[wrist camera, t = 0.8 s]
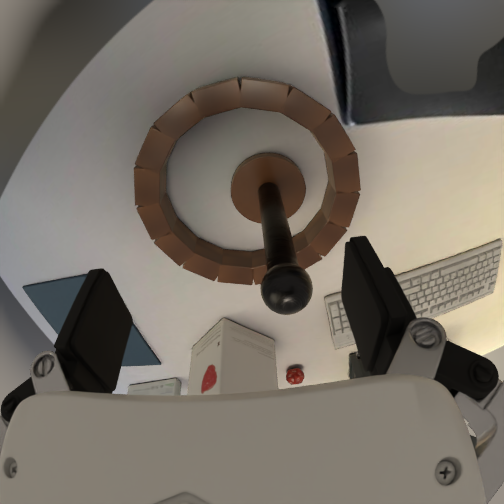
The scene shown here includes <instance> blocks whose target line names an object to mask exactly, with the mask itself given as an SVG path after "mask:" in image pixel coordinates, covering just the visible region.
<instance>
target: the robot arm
mask: <svg viewBox="0 0 504 504" xmlns="http://www.w3.org/2000/svg"><path fill="white" fill-rule="evenodd" d="M341 299H342V303H343V306H344V309H345V312H346V315H347V318H348V321H349V324H350V327H351V330H352V333H353V336H354V339H355V342H356V346H357V349H358V352H359V355H360V358H361V362H362V365H363V368H364V370H365V372H367V371H369V373H370V376H368V377H362V378H355V379H349V380H343V381H337V382H330V383H324V384H317V385H309V386H302V387H295V388H287V389H278V390H269V391H259V392H247V393H233V394H215V395H181V396H161V395H125V394H112V391H114V390H115V389H116V385H117V381H118V377H119V373H120V369H121V365H122V361H123V357H124V353H125V349H126V346H127V342H128V338H129V335H130V331H131V328H132V324H133V320H132V316H131V314H130V312H129V310H128V309H127V307H126V305H125V303H124V301H123V299H122V297H121V296H120V294H119V292H118V290H117V288H116V286H115V284H114V282H113V280H112V278H111V276H110V274H109V273H108V272H106V271H105V270H104V269H94V270H90V271H89V272H88V274H87V276H86V278H85V280H84V282H83V284H82V286H81V288H80V290H79V292H78V294H77V296H76V298H75V300H74V302H73V304H72V306H71V308H70V311H69V313H68V315H67V317H66V319H65V321H64V324H63V326H62V328H61V330H60V333H59V335H58V337H57V340H56V342H55V345H54V347H55V348H56V351H55V353H54V352H53V351H44V352H42V353H40V354H39V355H38V356H37V357H36V358H35V359H34V361H33V362H32V364H31V369H30V372H31V377H30V378H29V379H28V380H26V381H25V382H24V383H22V384H21V385H20V386H18V387H17V388H16V389H15V390H13V391H12V392H11V393H9V394H8V395H7V396H6V397H5V399H4V400H3V402H2V405H1V416H0V504H488V502H489V501H490V500H491V499H492V497H493V496H494V495H495V493H496V492H497V491H498V489H499V488H500V486H501V485H502V483H503V482H504V381H503V382H502V381H501V380H499V379H498V377H499V376H498V371H497V369H496V367H495V365H494V364H493V363H492V362H491V361H490V360H488V359H487V358H485V357H482V356H480V355H478V354H476V353H474V352H471V351H469V350H467V349H465V348H463V347H460V346H458V345H456V344H454V343H452V342H449V341H447V340H446V332H445V330H444V328H443V326H442V325H441V324H440V323H438V322H437V321H435V320H433V319H431V318H427V317H420V318H417V317H416V315H415V313H414V311H413V309H412V307H411V305H410V303H409V301H408V299H407V297H406V295H405V294H404V292H403V290H402V288H401V286H400V284H399V282H398V281H397V279H396V277H395V275H394V274H393V272H392V270H391V269H390V268H389V267H386V268H384V267H383V265H382V263H381V261H380V260H379V258H378V256H377V254H376V253H375V251H374V249H373V247H372V246H371V244H370V242H369V240H368V239H367V237H366V236H359V237H351V238H350V242H346V244H345V256H344V268H343V280H342V290H341ZM464 419H466V420H467V421H468V422H469V423H468V426H469V427H470V428H471V429H472V430H473V431H474V433H475V434H476V438H477V442H476V447H475V448H474V447H473V443H472V440H471V437H470V434H469V431H468V428H467V426H466V423H465V421H464Z"/></svg>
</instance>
